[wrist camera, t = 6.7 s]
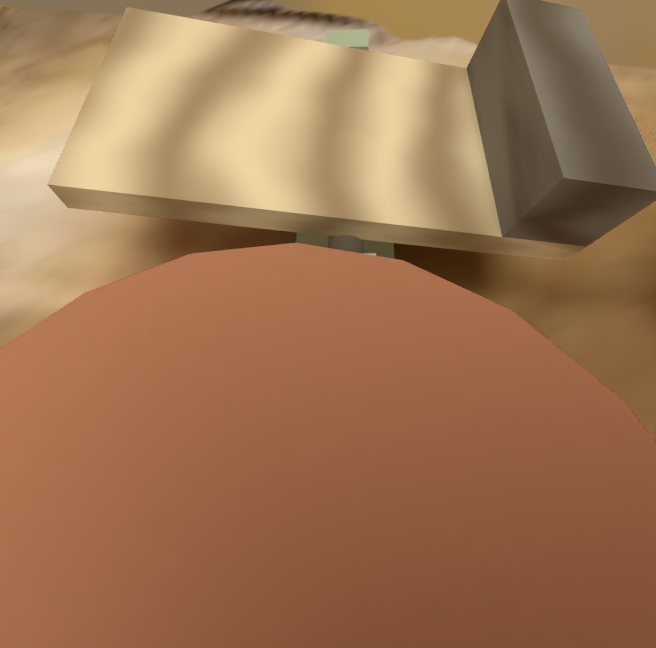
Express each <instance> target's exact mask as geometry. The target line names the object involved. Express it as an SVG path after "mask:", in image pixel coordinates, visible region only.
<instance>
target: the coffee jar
mask: <svg viewBox="0 0 656 648" xmlns="http://www.w3.org/2000/svg"><path fill="white" fill-rule="evenodd" d="M0 648H656V442H655V440H654V439H653V438H652V436H651V435H650V434H649V433H648V431H647V430H646V429H645V427H644V426H643V425H642V423H641V422H640V421H639V420H638V418H637V417H636V416H635V414H634V413H633V412H632V411H631V409H630V408H629V407H628V405H627V404H626V403H625V402H624V401H623V400H622V399H621V398H620V397H618V396H617V395H616V394H615V393H613V392H612V391H611V390H610V389H608V388H607V387H606V386H605V385H604V384H602V383H601V382H600V381H599V380H597V379H596V378H595V377H594V376H592V375H591V374H590V373H589V372H588V371H586V370H585V369H584V368H583V367H581V366H580V365H579V364H578V363H576V362H575V361H574V360H573V359H571V358H570V357H569V356H568V355H567V354H565V353H564V352H563V351H562V350H560V349H559V348H558V347H557V346H555V345H554V344H553V343H552V342H551V341H549V340H548V339H547V338H546V337H544V336H543V335H542V334H541V333H539V332H538V331H537V330H536V329H535V328H533V327H532V326H531V325H530V324H528V323H527V322H526V321H525V320H523V319H522V318H521V317H520V316H519V315H517V314H516V313H515V312H514V311H512V310H510V309H508V308H506V307H504V306H502V305H499V304H497V303H495V302H493V301H491V300H489V299H486V298H484V297H482V296H480V295H478V294H476V293H473V292H471V291H469V290H467V289H465V288H462V287H460V286H458V285H456V284H454V283H452V282H449V281H447V280H445V279H443V278H441V277H438V276H436V275H434V274H432V273H430V272H428V271H425V270H423V269H421V268H419V267H417V266H414V265H412V264H410V263H408V262H406V261H404V260H399V259H393V258H386V257H380V256H374V255H368V254H362V253H356V252H350V251H344V250H338V249H332V248H326V247H320V246H314V245H308V244H302V243H288V244H278V245H268V246H259V247H249V248H239V249H229V250H220V251H210V252H200V253H191V254H188V255H185V256H183V257H180V258H177V259H175V260H172V261H169V262H167V263H164V264H161V265H159V266H156V267H153V268H150V269H148V270H145V271H142V272H140V273H137V274H134V275H132V276H129V277H126V278H123V279H121V280H118V281H115V282H113V283H110V284H107V285H105V286H102V287H99V288H96V289H94V290H91V291H88V292H86V293H84V294H82V295H81V296H79V297H78V298H76V299H75V300H73V301H72V302H70V303H69V304H67V305H66V306H64V307H63V308H61V309H60V310H58V311H57V312H55V313H54V314H52V315H51V316H49V317H48V318H46V319H45V320H43V321H42V322H40V323H39V324H37V325H36V326H34V327H33V328H31V329H30V330H28V331H26V332H25V333H23V334H22V335H20V336H19V337H17V338H16V339H14V340H13V341H11V342H10V343H8V344H7V345H5V346H4V347H2V348H1V349H0Z"/></svg>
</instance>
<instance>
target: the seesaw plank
mask: <svg viewBox="0 0 656 648" xmlns="http://www.w3.org/2000/svg"><path fill="white" fill-rule="evenodd" d="M48 186H49V187H50V188H51V189H52V190H53V191H54V192H55V194H56V195H57V196H58V197H59V198H60V199H61V200H62V202H63V203H64V204H65V205H66V206H67V207H68V208H75V209H84V210H94V211H103V212H112V213H121V214H131V215H140V216H149V217H158V218H168V219H177V220H186V221H195V222H205V223H214V224H223V225H233V226H242V227H251V228H260V229H270V230H279V231H288V232H297V233H307V234H316V235H325V236H328V248H332V249H338V250H344V251H350V252H356V253H364V240H371V241H381V242H390V243H399V244H408V245H418V246H427V247H436V248H446V249H455V250H464V251H473V252H483V253H492V254H501V255H510V256H520V257H529V258H538V259H547V260H557V261H565V260H567V259H568V258H570V257H571V256H573V255H574V254H576V253H577V252H579V251H580V250H582V249H583V248H585V247H586V246H588V245H589V244H591V243H592V242H594V241H595V240H597V239H598V238H600V237H601V236H603V235H605V234H606V233H608V232H609V231H611V230H612V229H614V228H615V227H617V226H618V225H620V224H621V223H623V222H624V221H626V220H627V219H629V218H630V217H632V216H633V215H635V214H636V213H638V212H639V211H641V210H642V209H644V208H645V207H647V206H648V205H650V204H651V203H653V202H654V201H656V167H655V165H654V163H653V161H652V158H651V156H650V154H649V152H648V150H647V148H646V146H645V144H644V141H643V139H642V137H641V135H640V133H639V131H638V129H637V126H636V124H635V122H634V120H633V118H632V116H631V114H630V112H629V109H628V107H627V105H626V103H625V101H624V99H623V97H622V94H621V92H620V90H619V88H618V86H617V84H616V82H615V80H614V77H613V75H612V73H611V71H610V69H609V67H608V65H607V62H606V60H605V58H604V56H603V54H602V52H601V50H600V48H599V45H598V43H597V41H596V39H595V37H594V35H593V33H592V31H591V28H590V26H589V24H588V22H587V20H586V18H585V16H584V14H583V11H582V9H578V8H573V7H568V6H564V5H559V4H555V3H550V2H545V1H541V0H500V2H499V4H498V6H497V8H496V10H495V12H494V14H493V16H492V18H491V20H490V22H489V24H488V26H487V28H486V30H485V33H484V34H483V36H482V39H481V40H480V42H479V44H478V46H477V49H476V51H475V53H474V55H473V57H472V59H471V61H470V63H469V65H468V67H467V69H466V68H460V67H455V66H449V65H444V64H438V63H433V62H427V61H422V60H416V59H411V58H405V57H400V56H394V55H389V54H383V53H378V52H372V51H367V50H361V49H356V48H350V47H345V46H339V45H334V44H328V43H323V42H317V41H312V40H306V39H300V38H295V37H289V36H284V35H278V34H273V33H267V32H262V31H256V30H251V29H245V28H240V27H234V26H229V25H223V24H218V23H212V22H207V21H201V20H196V19H190V18H185V17H179V16H174V15H168V14H162V13H157V12H151V11H146V10H141V9H135V8H129V7H127V9H126V11H125V13H124V15H123V17H122V19H121V22H120V24H119V26H118V28H117V31H116V33H115V35H114V37H113V40H112V42H111V44H110V46H109V48H108V51H107V53H106V55H105V57H104V60H103V62H102V64H101V66H100V69H99V71H98V73H97V75H96V77H95V80H94V82H93V84H92V86H91V89H90V91H89V93H88V95H87V97H86V100H85V102H84V104H83V106H82V109H81V111H80V113H79V115H78V118H77V120H76V122H75V124H74V126H73V129H72V131H71V133H70V135H69V138H68V140H67V142H66V144H65V146H64V149H63V151H62V153H61V155H60V158H59V160H58V162H57V164H56V167H55V169H54V171H53V173H52V175H51V178H50V180H49V182H48Z"/></svg>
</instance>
